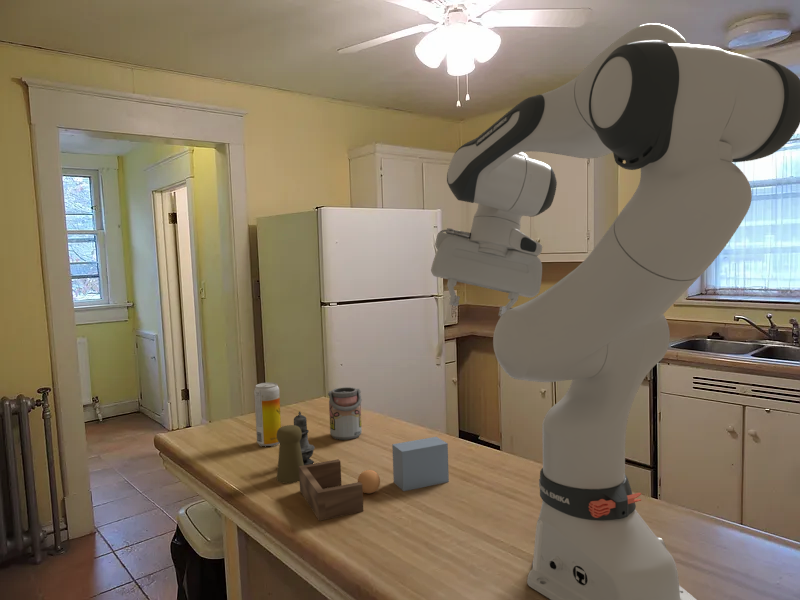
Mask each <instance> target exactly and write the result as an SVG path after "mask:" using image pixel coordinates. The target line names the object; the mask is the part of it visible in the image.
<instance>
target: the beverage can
mask: <svg viewBox="0 0 800 600" xmlns="http://www.w3.org/2000/svg"><path fill="white" fill-rule="evenodd" d="M361 392H362V391H361V390H360V388H356V387H350V386H347V387H346V386H345V387H344V386H343V387H337V388H334V389H332V390H329V391H328V392H327V395H328V398H329V401H328V406H329V407H328V408H329V410H328V411H329V413H328V414H329V432H330V436H332V438H333V439H335V440H338V439H339V440H338V441H346V440H347V441H349V440H354V439H357V438H358V437H360V436H361V435H362V430H363V429H362V409H361V407H362V406H361V405H362V401H363V399H362V395H361Z"/></svg>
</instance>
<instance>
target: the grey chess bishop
mask: <svg viewBox="0 0 800 600" xmlns="http://www.w3.org/2000/svg"><path fill="white" fill-rule="evenodd" d="M307 422H308V421H307V417H306V415H302V412H301V411H298V415H296V416H295V417H294V418H293V425H296V426H298V427H300V429H301V432H302V437H301V439H300V441H299V442H300V447H301V453H302V458H303V464H304V465H309V464H313V463H314V464H315V461H314V460H313V459H311V457H312V456H313V454H314V450H315V446H314V444H310V443H309V440H308V439H309V437H308V436H309V435H308V433H309V430H308V426H307V425H308V424H307Z"/></svg>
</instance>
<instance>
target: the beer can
mask: <svg viewBox="0 0 800 600" xmlns="http://www.w3.org/2000/svg"><path fill="white" fill-rule="evenodd" d="M254 387H255V388H253V389H254V390H253V393H254V394H253V395H254V409H255V411H254V412H255V413H254V415H255V430H256V431H255V433H256V443H257V444H258V445H259V447H262V446H265V447H264V448H267V447H266V446H271V447H275V446H278V445H280V443H279V442H278V440H277V431H278V429H279V428H281V427H282V421H281V418H282V417H281V400H280V396H281V395H280V387H279V386H278V383H276V382H261V383H257V384H256V385H255V386H254ZM277 444H278V445H277ZM274 445H275V446H274Z"/></svg>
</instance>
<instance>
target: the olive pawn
mask: <svg viewBox="0 0 800 600" xmlns="http://www.w3.org/2000/svg"><path fill="white" fill-rule="evenodd" d="M301 437H302V432H301V429H300V427H298V426H296V425H294V424H287V425H283V426H281V428H279V429H278V431H277V440H278V442H279V449H278V460H277V472H276V481H278V482H279V483H282V484H294V483H293V482H295V483H298V482H297V481H299V482H300V479H299V466H304V464H303V458H302V453H301V447H300V442H299V441H300V439H301Z"/></svg>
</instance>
